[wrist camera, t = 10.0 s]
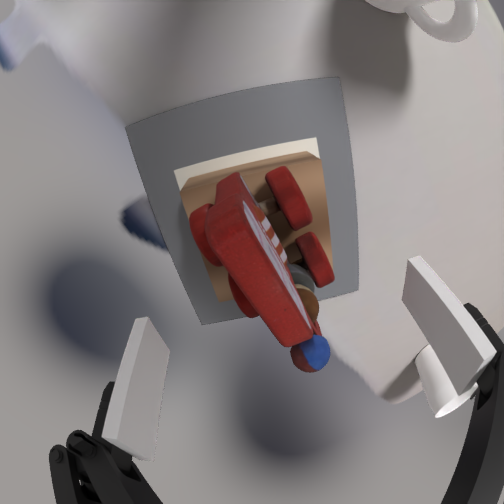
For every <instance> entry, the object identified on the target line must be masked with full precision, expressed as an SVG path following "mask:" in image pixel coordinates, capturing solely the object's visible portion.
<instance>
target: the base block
mask: <svg viewBox="0 0 504 504" xmlns="http://www.w3.org/2000/svg"><path fill="white" fill-rule="evenodd" d="M280 166H286V167H287V168H288V169H289V171H290V172H291V173H292V175H293V177H294V178H295V180H296V182H297V184H298V186H299V187H300V189H301V191H302V193H303V195H304V197H305V199H306V202H307V204H308V206H309V208H310V211H311V213H312V217H313V220H312V223H310V224H309V225H308V226H306V227H303V228H301V229H299V230H298V231H293V230H292V229H291V227H290V226H289V224H288V222H287V220H286V218H285V216H284V214H283V213H282V211H278V212H277V213H275V214H272V215H270V216H267V217H266V218H267V219H268V221H269V223H270V224H271V226H272V228H273V230H274V232H275V234H276V236H277V238H278V239H279V241H280V243H281V245H282V247H283V249H284V251H285V253H286V255H287V258H288V260H289V262H290V263H291V264H292V263H293V262H294V261H296V260H299V259H301V258H302V256H301V254H300V252H299V249H298V247H297V245H296V243H295V239H296V238H297V237H299V236H301V235H303V234H305V233H307V232H310V231H311V232H313V233H314V234H315V235H316V236H317V238H318V240H319V242H320V243H321V245H322V247H323V249H324V251H325V253H326V255H327V258H328V260H329V262H330V265H331V267H332V270H333V259H332V246H331V235H330V225H329V215H328V206H327V198H326V190H325V182H324V175H323V168H322V161H321V159H319V158H318V157H316V156H314V155H313V154H311V153H310V152H308V151H303V152H298V153H292V154H287V155H282V156H277V157H272V158H268V159H263V160H258V161H254V162H249V163H245V164H241V165H237V166H233V167H229V168H225V169H221V170H217V171H213V172H209V173H205V174H202V175H198V176H195V177H191V178H188V180H187V181H186V183H185V184H184V186H183V187H182V189H181V191H180V192H179V193H180V196H181V199H182V202H183V205H184V208H185V211H186V214H187V216H188V219H189V217H190V214H191V213H192V212H193V211H194V210H196V209H197V208H199V207H201V206H203V205H205V204H207V203H211V204H213V205H215V196H216V185H217V183H218V182H219V181H221V180H222V179H224V178H226V177H227V176H229V175H231V174H232V173H234V172H239V173H240V175H241V176H242V178H243V179H244V181H245V183H246V184H247V186H248V188H249V190H250V192H251V193H252V195H253V196H254V198H255V200H256V201H257V203H258V204H259V203H260V202H263V201H265V200H267V199H269V198H272V197H273V196H274V195H273V194H272V192H271V190H270V188H269V186H268V184H267V182H266V180H265V175H266V173H268V172H270V171H272V170H274V169H276V168H278V167H280ZM199 251H200V250H199ZM200 253H201V251H200ZM201 256H202V259H203V261H204V264H205V267H206V270H207V272H208V275H209V278H210V280H211V283H212V285H213V288H214V291H215V293H216V296H217V298H218V301H219V302H224V301H229V300H234V297H233V295H232V292H231V289H230V286H229V282H228V271H227V270H226V268H225V267H224V266H220V267H216V266H214V265H212V264H211V263H210V262H209V261H208V260H207V259H206V258H205V257H204V256H203V254H202V253H201Z"/></svg>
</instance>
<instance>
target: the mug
mask: <svg viewBox="0 0 504 504" xmlns="http://www.w3.org/2000/svg"><path fill="white" fill-rule="evenodd" d="M365 1H366V2H368V3H369V4H371V5H372V6H374V7H377V8H379V9H381V10H384V11H387V12H392V13H404V12H406V13H407V14H408V16H409V17H410V18H411V19H412V20H413V21H414V22H415V23H416V24H417V25H418V26H419V27H420V28H421V29H422V30H423V31H424V32H426V33H427V34H429V35H430V36H432V37H434V38H436V39H438V40H442V41H445V42H451V43H453V42H460V41H462V40H464V39H466V38H468V37H469V36H470V35H471V34H472V33H473V31H474V29H475V27H476V24H477V18H478V10H477V4H476V0H454V3H455V11H454V15H453V17H452V18H451V20H450V21H448V22H439V21H437V20H435V19H434V18H432V17H431V16H430V15H429V14H428V13H427V12H426V11H425V10H424V9H423V8H422V6H424V5H427V4H430V3H433V2H436V1H439V0H365Z"/></svg>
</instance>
